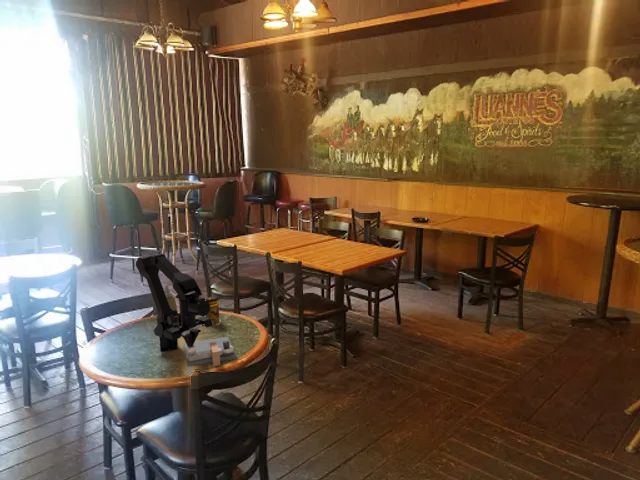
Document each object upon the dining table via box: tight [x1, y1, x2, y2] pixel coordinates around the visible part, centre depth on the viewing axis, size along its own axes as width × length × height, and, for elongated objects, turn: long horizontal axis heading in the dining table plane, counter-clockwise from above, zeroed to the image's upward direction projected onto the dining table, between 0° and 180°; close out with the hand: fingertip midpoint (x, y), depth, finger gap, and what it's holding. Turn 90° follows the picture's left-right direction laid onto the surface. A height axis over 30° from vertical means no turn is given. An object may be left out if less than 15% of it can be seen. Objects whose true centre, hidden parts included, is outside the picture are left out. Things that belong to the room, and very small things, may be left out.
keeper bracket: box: [209, 342, 221, 367], centre depth 190 cm, size 2×10×6 cm, turn 19°
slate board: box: [183, 336, 237, 367], centre depth 198 cm, size 18×20×1 cm
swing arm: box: [188, 340, 235, 362], centre depth 190 cm, size 17×5×5 cm, turn 115°
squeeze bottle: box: [164, 284, 179, 313], centre depth 230 cm, size 8×8×18 cm
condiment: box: [200, 296, 222, 327], centre depth 229 cm, size 7×8×12 cm
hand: (190, 348), depth 194 cm, fingers closed
